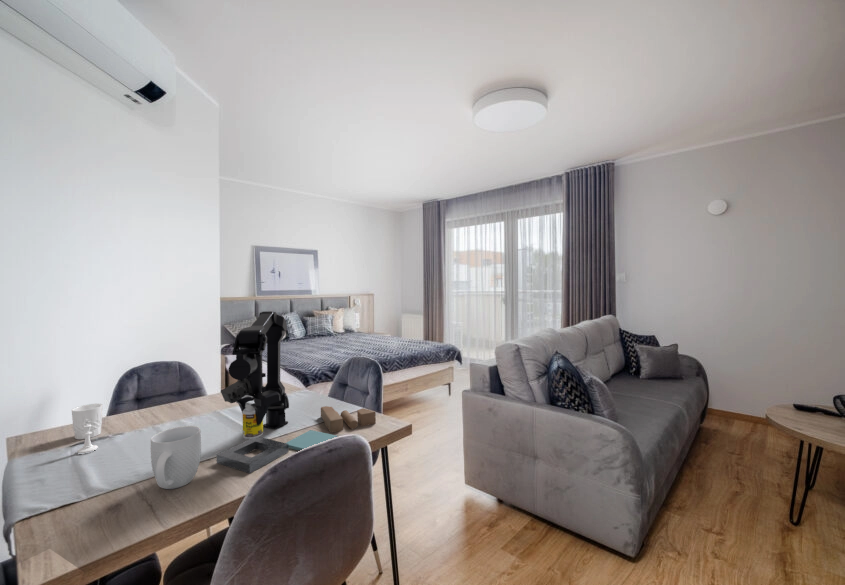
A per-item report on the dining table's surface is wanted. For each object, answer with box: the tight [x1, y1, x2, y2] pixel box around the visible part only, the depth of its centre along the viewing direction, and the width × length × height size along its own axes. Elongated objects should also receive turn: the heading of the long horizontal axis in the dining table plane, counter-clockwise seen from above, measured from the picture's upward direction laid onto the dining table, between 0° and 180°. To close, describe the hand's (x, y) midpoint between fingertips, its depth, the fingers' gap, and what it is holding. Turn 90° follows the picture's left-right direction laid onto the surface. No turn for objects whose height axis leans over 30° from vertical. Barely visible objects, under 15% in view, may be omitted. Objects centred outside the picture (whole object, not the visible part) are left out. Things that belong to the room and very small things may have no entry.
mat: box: [285, 429, 338, 451], centre depth 118 cm, size 12×12×1 cm
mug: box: [150, 425, 202, 490], centre depth 92 cm, size 15×11×13 cm
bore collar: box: [216, 436, 290, 474], centre depth 108 cm, size 14×14×2 cm
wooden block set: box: [320, 405, 377, 434], centre depth 137 cm, size 17×6×18 cm
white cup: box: [71, 403, 103, 440], centre depth 125 cm, size 8×8×10 cm
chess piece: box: [76, 419, 99, 453], centre depth 113 cm, size 5×5×10 cm
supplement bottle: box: [242, 401, 264, 440], centre depth 108 cm, size 6×6×10 cm
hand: (253, 422), depth 108 cm, fingers closed on supplement bottle, 5 cm apart
